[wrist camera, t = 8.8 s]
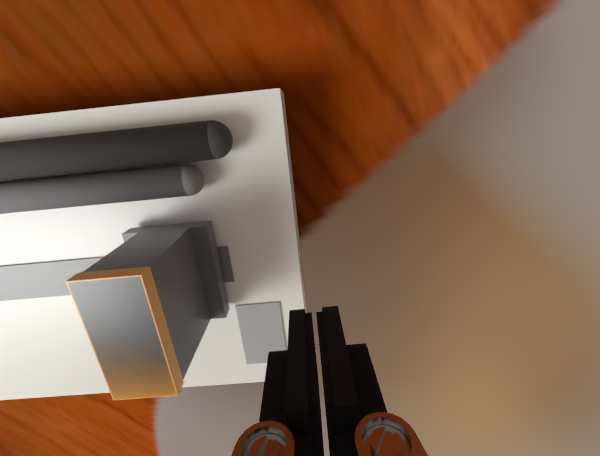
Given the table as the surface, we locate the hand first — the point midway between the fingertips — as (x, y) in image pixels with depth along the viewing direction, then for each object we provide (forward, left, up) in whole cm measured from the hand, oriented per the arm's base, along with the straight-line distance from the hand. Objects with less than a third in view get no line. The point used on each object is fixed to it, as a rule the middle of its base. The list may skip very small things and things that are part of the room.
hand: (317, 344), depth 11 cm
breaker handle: (+7, -1, -5) cm, 9 cm away
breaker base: (+13, -1, -9) cm, 15 cm away
